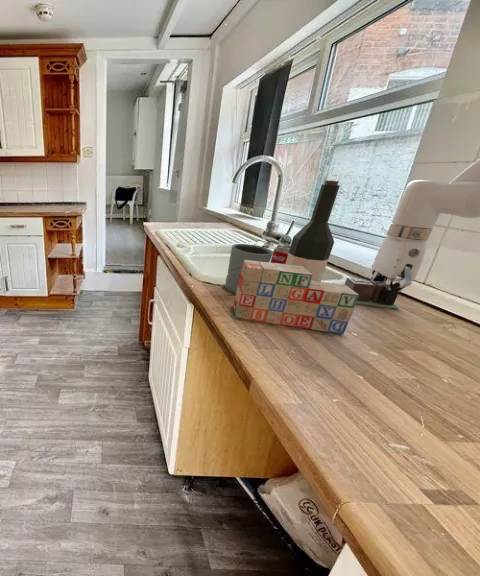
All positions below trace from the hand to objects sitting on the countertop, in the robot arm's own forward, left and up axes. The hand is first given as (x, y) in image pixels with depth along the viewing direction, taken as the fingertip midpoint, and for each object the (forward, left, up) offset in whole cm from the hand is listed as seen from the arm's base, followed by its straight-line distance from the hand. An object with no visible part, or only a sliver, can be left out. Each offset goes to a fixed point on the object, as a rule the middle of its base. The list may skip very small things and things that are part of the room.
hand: (378, 299), depth 82 cm
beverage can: (+25, -1, -1) cm, 25 cm away
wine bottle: (+23, +9, -1) cm, 25 cm away
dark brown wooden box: (0, 0, 0) cm, 0 cm away
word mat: (+3, 0, -1) cm, 3 cm away
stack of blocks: (+29, +22, -1) cm, 36 cm away
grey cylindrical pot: (+35, +5, -1) cm, 36 cm away
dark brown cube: (+6, 0, 0) cm, 6 cm away
